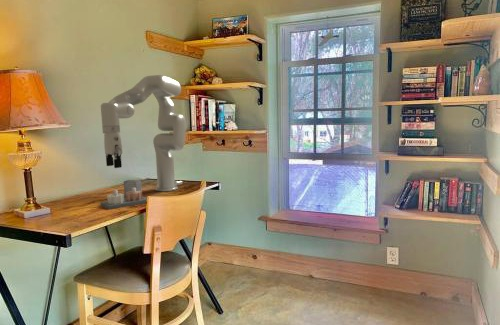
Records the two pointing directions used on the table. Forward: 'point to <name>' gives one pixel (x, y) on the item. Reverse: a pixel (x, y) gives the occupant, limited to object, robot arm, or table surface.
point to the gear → (115, 198)
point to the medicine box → (132, 185)
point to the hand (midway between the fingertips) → (114, 166)
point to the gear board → (126, 199)
